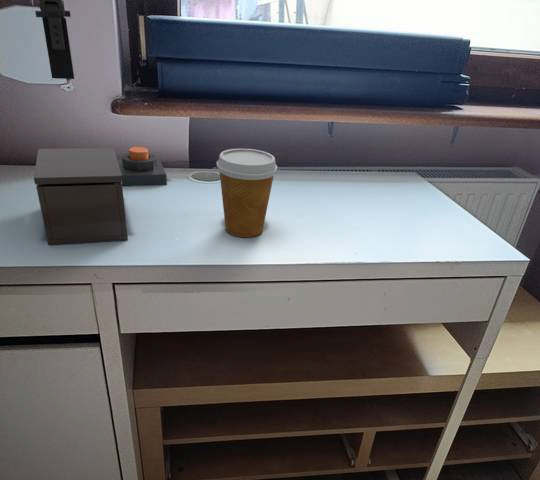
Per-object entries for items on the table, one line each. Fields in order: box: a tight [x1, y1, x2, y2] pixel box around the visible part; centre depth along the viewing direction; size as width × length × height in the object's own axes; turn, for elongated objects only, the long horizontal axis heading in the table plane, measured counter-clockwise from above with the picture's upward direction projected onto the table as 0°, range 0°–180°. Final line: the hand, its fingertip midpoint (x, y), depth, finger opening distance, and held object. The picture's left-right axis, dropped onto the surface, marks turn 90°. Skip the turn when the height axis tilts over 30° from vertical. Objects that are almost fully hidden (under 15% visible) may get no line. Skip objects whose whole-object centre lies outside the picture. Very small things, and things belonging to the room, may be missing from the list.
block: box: [117, 152, 168, 187], centre depth 100 cm, size 10×9×4 cm
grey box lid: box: [33, 147, 122, 185], centre depth 76 cm, size 15×12×1 cm
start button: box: [128, 146, 149, 160], centre depth 99 cm, size 4×4×2 cm
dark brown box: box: [35, 182, 129, 246], centre depth 80 cm, size 15×12×9 cm
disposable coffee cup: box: [216, 148, 278, 238], centre depth 81 cm, size 10×10×12 cm
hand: (63, 77), depth 66 cm, fingers closed
